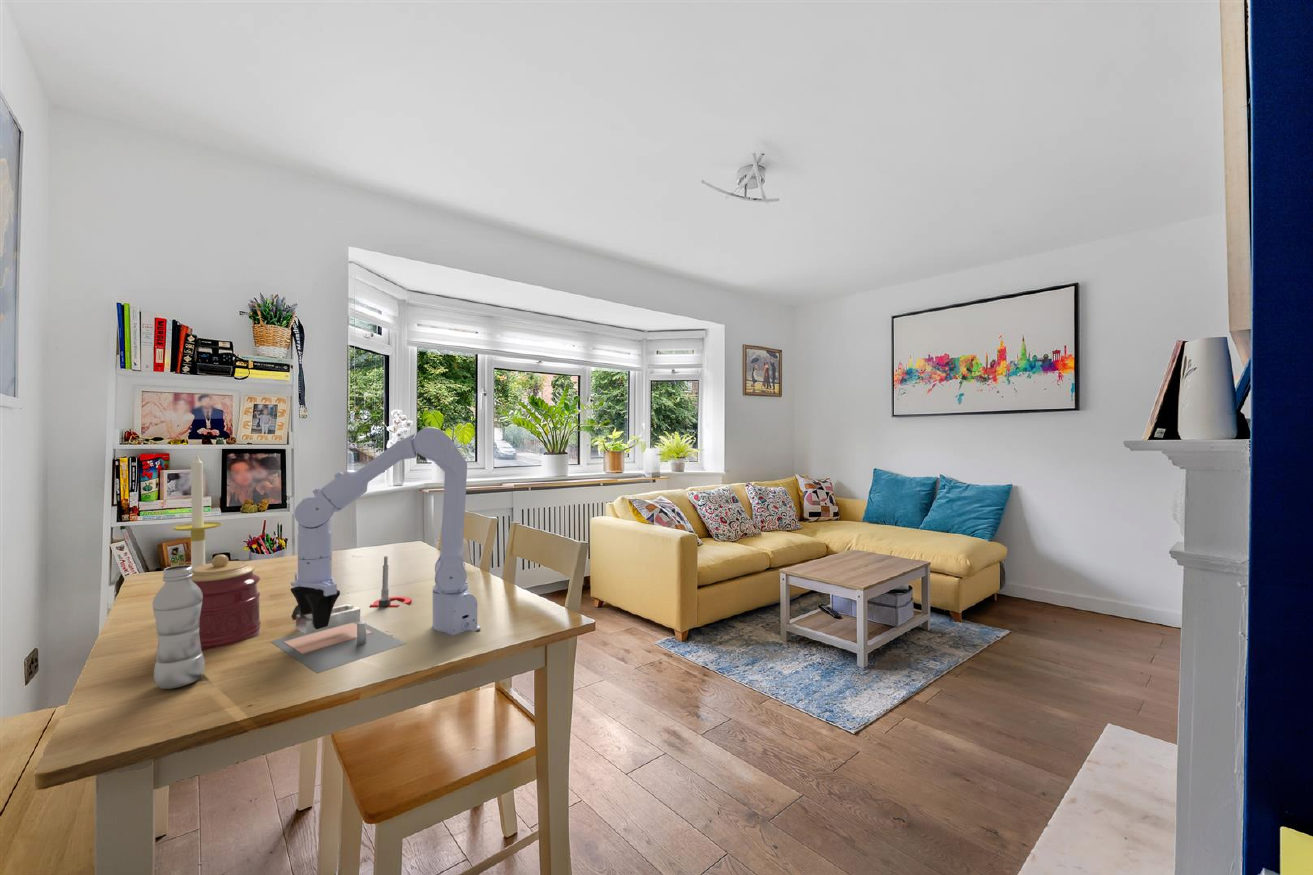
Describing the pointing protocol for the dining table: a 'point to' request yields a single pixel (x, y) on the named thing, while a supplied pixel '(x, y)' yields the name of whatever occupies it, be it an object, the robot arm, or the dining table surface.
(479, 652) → the dining table surface
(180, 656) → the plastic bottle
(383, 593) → the tow hook
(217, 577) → the canister
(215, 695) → the dining table surface
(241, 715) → the dining table surface
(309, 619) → the c link
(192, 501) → the candle
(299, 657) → the post board
